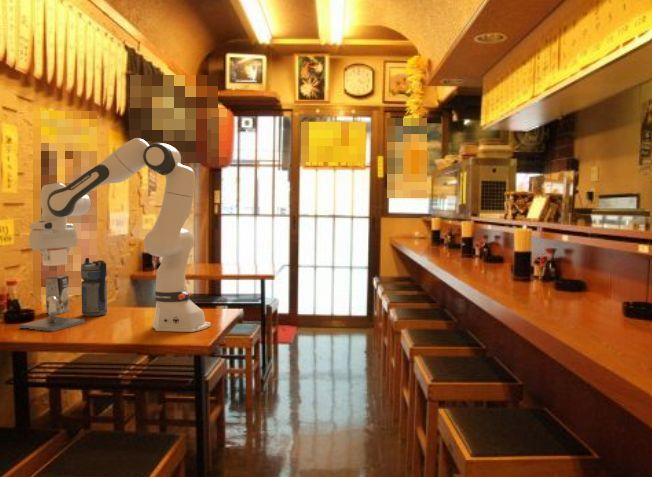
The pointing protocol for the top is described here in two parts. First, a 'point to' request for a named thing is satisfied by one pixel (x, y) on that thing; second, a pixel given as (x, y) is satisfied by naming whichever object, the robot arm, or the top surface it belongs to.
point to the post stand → (52, 320)
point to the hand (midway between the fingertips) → (55, 259)
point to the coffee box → (58, 292)
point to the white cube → (56, 257)
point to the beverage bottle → (94, 288)
